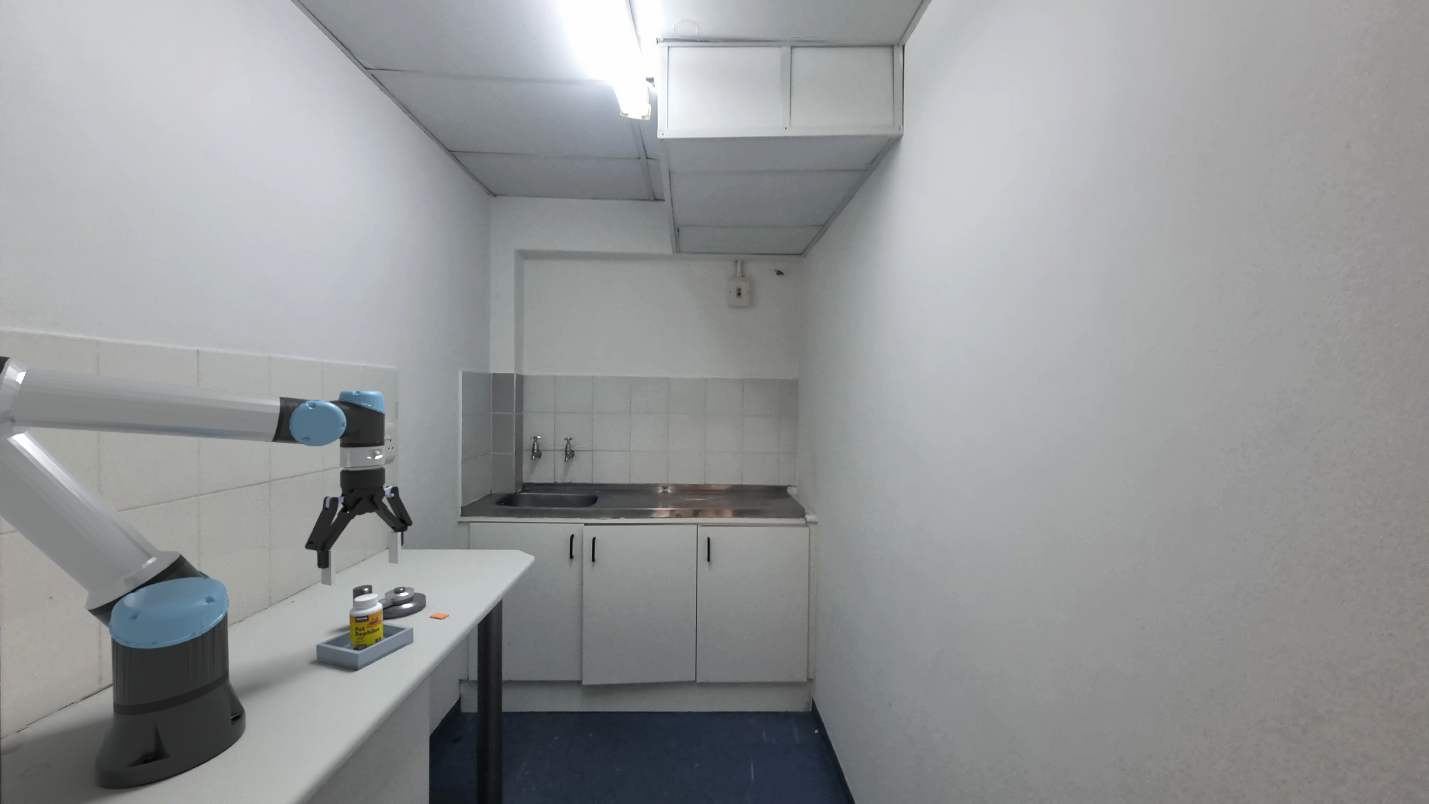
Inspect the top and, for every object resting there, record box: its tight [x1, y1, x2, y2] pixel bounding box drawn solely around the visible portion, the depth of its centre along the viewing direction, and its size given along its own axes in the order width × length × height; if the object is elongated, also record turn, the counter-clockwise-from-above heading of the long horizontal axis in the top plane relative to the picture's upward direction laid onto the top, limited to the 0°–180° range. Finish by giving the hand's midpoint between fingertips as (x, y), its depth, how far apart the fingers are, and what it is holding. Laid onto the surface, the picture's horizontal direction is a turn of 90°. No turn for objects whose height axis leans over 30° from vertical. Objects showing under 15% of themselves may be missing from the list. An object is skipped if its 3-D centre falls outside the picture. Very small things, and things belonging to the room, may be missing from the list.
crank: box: [352, 584, 415, 608], centre depth 120 cm, size 14×6×6 cm, turn 160°
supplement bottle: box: [349, 593, 384, 651], centre depth 104 cm, size 6×6×10 cm
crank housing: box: [378, 592, 427, 621], centre depth 124 cm, size 11×11×2 cm
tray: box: [315, 621, 414, 671], centre depth 104 cm, size 12×12×3 cm
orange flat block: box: [429, 612, 450, 620], centre depth 120 cm, size 2×4×1 cm, turn 70°
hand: (363, 572), depth 103 cm, fingers open, 13 cm apart
